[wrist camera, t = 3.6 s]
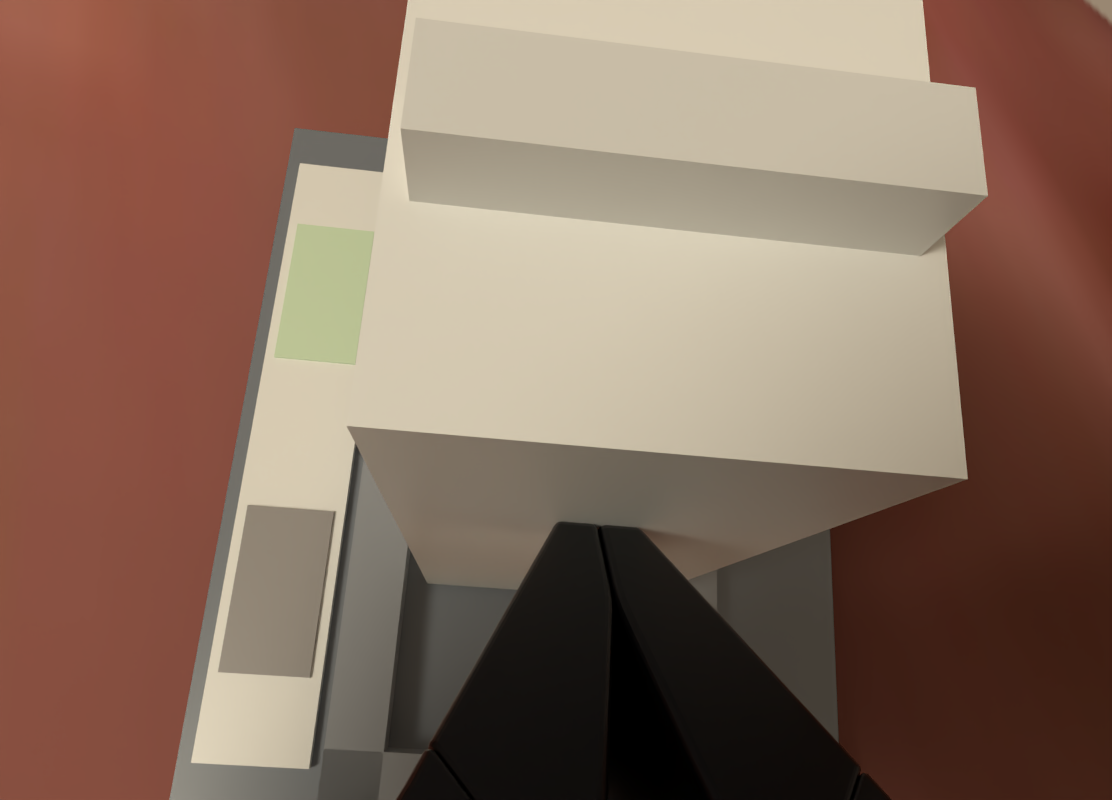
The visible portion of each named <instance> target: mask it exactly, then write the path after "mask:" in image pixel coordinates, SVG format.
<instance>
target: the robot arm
mask: <svg viewBox="0 0 1112 800" xmlns="http://www.w3.org/2000/svg"><path fill="white" fill-rule="evenodd" d="M860 771H861V768H860V766H859V764H858V763H857V762H856V761H855V760H854V759H853V758H852V757H851V756H850V755H849V754H848V753H847V751H846V750H845V749H844V748H843V747H842V746H841V745H840V744H839V743H838V742H837V741H836V740H835V739H834V737H833V736H832V735H831V734H830V733H829V732H828V731H827V730H826V729H825V728H824V727H823V726H822V724H821V723H820V722H819V721H818V720H817V719H816V718H815V717H814V716H813V715H812V714H811V713H810V711H809V710H808V709H807V708H806V707H805V706H804V705H803V704H802V703H801V702H800V701H799V700H798V698H797V697H796V696H795V695H794V694H793V693H792V692H791V691H790V690H789V689H788V688H787V687H786V686H785V684H784V683H783V682H782V681H781V680H780V679H779V678H778V677H777V676H776V675H775V674H774V673H773V671H772V670H771V669H770V668H769V667H768V666H767V665H766V664H765V663H764V662H763V661H762V660H761V658H760V657H759V656H758V655H757V654H756V653H755V652H754V651H753V650H752V649H751V648H750V647H749V646H748V644H747V643H746V642H745V641H744V640H743V639H742V638H741V637H740V636H739V635H738V634H737V633H736V631H735V630H734V629H733V628H732V627H731V626H730V625H729V624H728V623H727V622H726V621H725V620H724V618H723V617H722V616H721V615H720V614H719V613H718V612H717V611H716V610H715V609H714V608H713V607H712V606H711V604H710V603H709V602H708V601H707V600H706V599H705V598H704V597H703V596H702V595H701V594H700V593H699V591H698V590H697V589H696V588H695V587H694V586H693V585H692V584H691V583H690V582H689V581H688V580H687V578H686V577H685V576H684V575H683V574H682V573H681V572H680V571H679V570H678V569H677V568H676V567H675V566H674V564H673V563H672V562H671V561H670V560H669V559H668V558H667V557H666V556H665V555H664V554H663V553H662V551H661V550H660V549H659V548H658V547H657V546H656V545H655V544H654V543H653V542H652V541H651V540H650V538H649V537H648V536H647V535H646V534H645V533H644V532H643V531H642V530H641V529H639V528H637V527H626V526H614V525H603V526H600V527H599V529H597V527H596V526H595V525H593V524H588V523H576V522H563V521H561V522H557V523H556V524H555V525H554V527H553V528H552V530H551V532H550V533H549V535H548V537H547V539H546V540H545V542H544V544H543V546H542V547H541V549H540V551H539V553H538V554H537V556H536V558H535V560H534V561H533V563H532V565H531V567H530V568H529V570H528V572H527V573H526V575H525V577H524V579H523V580H522V582H521V584H520V586H519V587H518V589H517V591H516V593H515V594H514V596H513V598H512V600H511V601H510V603H509V605H508V607H507V608H506V610H505V612H504V613H503V615H502V617H501V619H500V620H499V622H498V624H497V626H496V627H495V629H494V631H493V633H492V634H491V636H490V638H489V640H488V641H487V643H486V645H485V647H484V648H483V650H482V652H481V653H480V655H479V657H478V659H477V660H476V662H475V664H474V666H473V667H472V669H471V671H470V673H469V674H468V676H467V678H466V680H465V681H464V683H463V685H462V687H461V688H460V690H459V692H458V693H457V695H456V697H455V699H454V700H453V702H452V704H451V706H450V707H449V709H448V711H447V713H446V714H445V716H444V718H443V720H442V721H441V723H440V725H439V727H438V728H437V730H436V732H435V733H434V735H433V737H432V739H431V740H430V742H429V745H428V749H427V750H425V751H424V752H423V753H422V755H421V757H420V759H419V760H418V762H417V764H416V765H415V767H414V769H413V771H412V772H411V774H410V776H409V778H408V779H407V781H406V783H405V785H404V786H403V788H402V789H401V791H400V793H399V794H398V796H397V797H396V799H395V800H891V799H890V797H889V796H888V795H887V794H886V793H885V792H884V791H883V790H882V789H881V788H880V787H879V786H878V785H877V783H876V782H875V781H874V780H873V779H872V778H871V777H870V776H869V775H868V774H865V773H863V774H861V775H860ZM859 775H860V776H859Z"/></svg>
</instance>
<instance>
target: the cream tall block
mask: <svg viewBox="0 0 1112 800" xmlns="http://www.w3.org/2000/svg"><path fill="white" fill-rule="evenodd" d="M987 196H988V193H987V184H986V176H985V167H984V158H983V150H982V141H981V132H980V123H979V115H978V106H977V97H976V89H975V88H973V87H965V86H957V85H949V84H941V83H933V82H930V75H929V64H928V54H927V43H926V33H925V22H924V12H923V1H922V0H408V4H407V11H406V18H405V25H404V32H403V39H402V46H401V53H400V60H399V67H398V73H397V80H396V87H395V94H394V101H393V108H392V115H391V122H390V129H389V136H388V142H387V149H386V156H385V163H384V170H383V177H382V184H381V191H380V198H379V205H378V211H377V218H376V225H375V232H374V239H373V246H372V253H371V260H370V267H369V274H368V280H367V287H366V294H365V301H364V308H363V315H362V322H361V329H360V336H359V343H358V349H357V356H356V363H355V370H354V377H353V384H352V391H351V398H350V405H349V412H348V418H347V425H346V426H347V428H348V430H349V432H350V434H351V436H352V438H353V440H354V442H355V444H356V445H357V447H358V449H359V451H360V453H361V455H362V457H363V459H364V461H365V463H366V465H367V467H368V469H369V471H370V473H371V475H372V477H373V479H374V480H375V482H376V484H377V486H378V488H379V490H380V492H381V494H382V496H383V498H384V500H385V502H386V504H387V506H388V508H389V510H390V512H391V514H392V515H393V517H394V519H395V521H396V523H397V525H398V527H399V529H400V531H401V533H402V535H403V537H404V539H405V541H406V543H407V545H408V547H409V549H410V550H411V552H412V554H413V556H414V558H415V560H416V562H417V564H418V566H419V568H420V570H421V572H422V574H423V576H424V578H425V580H426V582H427V583H428V584H442V585H456V586H470V587H484V588H498V589H512V590H517V589H518V587H519V586H520V584H521V582H522V580H523V579H524V577H525V575H526V573H527V572H528V570H529V568H530V567H531V565H532V563H533V561H534V560H535V558H536V556H537V554H538V553H539V551H540V549H541V547H542V546H543V544H544V542H545V540H546V539H547V537H548V535H549V533H550V532H551V530H552V528H553V527H554V525H555V524H556V523H557V522H561V521H563V522H576V523H588V524H593V525H595V526H596V527H597V529H599V527H600V526H603V525H614V526H626V527H637V528H639V529H641V530H642V531H643V532H644V533H645V534H646V535H647V536H648V537H649V538H650V540H651V541H652V542H653V543H654V544H655V545H656V546H657V547H658V548H659V549H660V550H661V551H662V553H663V554H664V555H665V556H666V557H667V558H668V559H669V560H670V561H671V562H672V563H673V564H674V566H675V567H676V568H677V569H678V570H679V571H680V572H681V573H682V574H683V575H684V576H685V577H686V578H687V580H689V579H692V578H695V577H697V576H700V575H703V574H706V573H709V572H711V571H714V570H717V569H720V568H722V567H725V566H728V565H731V564H734V563H736V562H739V561H742V560H745V559H747V558H750V557H753V556H756V555H759V554H761V553H764V552H767V551H770V550H772V549H775V548H778V547H781V546H784V545H786V544H789V543H792V542H795V541H797V540H800V539H803V538H806V537H808V536H811V535H814V534H817V533H820V532H822V531H825V530H828V529H831V528H833V527H836V526H839V525H842V524H845V523H847V522H850V521H853V520H856V519H858V518H861V517H864V516H867V515H870V514H872V513H875V512H878V511H881V510H883V509H886V508H889V507H892V506H895V505H897V504H900V503H903V502H906V501H908V500H911V499H914V498H917V497H920V496H922V495H925V494H928V493H931V492H933V491H936V490H939V489H942V488H945V487H947V486H950V485H953V484H956V483H958V482H961V481H964V480H967V479H968V476H967V466H966V455H965V444H964V434H963V423H962V413H961V402H960V392H959V381H958V371H957V360H956V349H955V339H954V328H953V318H952V307H951V297H950V286H949V275H948V265H947V254H946V244H945V233H947V232H948V231H949V230H950V229H951V228H952V227H953V226H954V225H956V224H957V223H958V222H959V221H960V220H961V219H962V218H963V217H965V216H966V215H967V214H968V213H969V212H970V211H971V210H972V209H974V208H975V207H976V206H977V205H978V204H979V203H980V202H981V201H983V200H984V199H985V198H986V197H987Z"/></svg>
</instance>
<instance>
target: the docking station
mask: <svg viewBox="0 0 1112 800" xmlns="http://www.w3.org/2000/svg"><path fill="white" fill-rule="evenodd" d="M387 142H388V139H386V138H377V137H368V136H360V135H351V134H342V133H333V132H324V131H316V130H307V129H298V128H295V130H294V135H293V141H292V146H291V151H290V157H289V162H288V167H287V173H286V178H285V184H284V189H283V194H282V200H281V205H280V210H279V216H278V221H277V226H276V232H275V237H274V242H273V248H272V253H271V259H270V264H269V269H268V275H267V280H266V285H265V291H264V296H263V301H262V307H261V312H260V318H259V323H258V328H257V334H256V339H255V344H254V350H253V355H252V360H251V366H250V371H249V376H248V382H247V387H246V393H245V398H244V403H243V409H242V414H241V419H240V425H239V430H238V435H237V441H236V446H235V452H234V457H233V462H232V468H231V473H230V478H229V484H228V489H227V494H226V500H225V505H224V510H223V516H222V521H221V527H220V532H219V537H218V543H217V548H216V553H215V559H214V564H213V569H212V575H211V580H210V586H209V591H208V596H207V602H206V607H205V612H204V618H203V623H202V628H201V634H200V639H199V644H198V650H197V655H196V661H195V666H194V671H193V677H192V682H191V687H190V693H189V698H188V703H187V709H186V714H185V720H184V725H183V730H182V736H181V741H180V746H179V752H178V757H177V762H176V768H175V773H174V778H173V784H172V789H171V795H170V800H395V799H396V797H397V796H398V794H399V793H400V791H401V789H402V788H403V786H404V785H405V783H406V781H407V779H408V778H409V776H410V774H411V772H412V771H413V769H414V767H415V765H416V764H417V762H418V760H419V759H420V757H421V755H422V753H423V752H424V751H425V750H427V749H428V745H429V742H430V740H431V739H432V737H433V735H434V733H435V732H436V730H437V728H438V727H439V725H440V723H441V721H442V720H443V718H444V716H445V714H446V713H447V711H448V709H449V707H450V706H451V704H452V702H453V700H454V699H455V697H456V695H457V693H458V692H459V690H460V688H461V687H462V685H463V683H464V681H465V680H466V678H467V676H468V674H469V673H470V671H471V669H472V667H473V666H474V664H475V662H476V660H477V659H478V657H479V655H480V653H481V652H482V650H483V648H484V647H485V645H486V643H487V641H488V640H489V638H490V636H491V634H492V633H493V631H494V629H495V627H496V626H497V624H498V622H499V620H500V619H501V617H502V615H503V613H504V612H505V610H506V608H507V607H508V605H509V603H510V601H511V600H512V598H513V596H514V594H515V593H516V591H517V590H512V589H498V588H484V587H470V586H456V585H442V584H428V583H427V582H426V580H425V578H424V576H423V574H422V572H421V570H420V568H419V566H418V564H417V562H416V560H415V558H414V556H413V554H412V552H411V550H410V549H409V547H408V545H407V543H406V541H405V539H404V537H403V535H402V533H401V531H400V529H399V527H398V525H397V523H396V521H395V519H394V517H393V515H392V514H391V512H390V510H389V508H388V506H387V504H386V502H385V500H384V498H383V496H382V494H381V492H380V490H379V488H378V486H377V484H376V482H375V480H374V479H373V477H372V475H371V473H370V471H369V469H368V467H367V465H366V463H365V461H364V459H363V457H362V455H361V453H360V451H359V449H358V447H357V445H356V444H355V442H354V440H353V438H352V436H351V434H350V432H349V430H348V428H347V426H346V425H347V418H348V412H349V405H350V398H351V391H352V384H353V377H354V370H355V363H356V356H357V349H358V343H359V336H360V329H361V322H362V315H363V308H364V301H365V294H366V287H367V280H368V274H369V267H370V260H371V253H372V246H373V239H374V232H375V225H376V218H377V211H378V205H379V198H380V191H381V184H382V177H383V170H384V163H385V156H386V149H387ZM688 581H689V582H690V583H691V584H692V585H693V586H694V587H695V588H696V589H697V590H698V591H699V593H700V594H701V595H702V596H703V597H704V598H705V599H706V600H707V601H708V602H709V603H710V604H711V606H712V607H713V608H714V609H715V610H716V611H717V612H718V613H719V614H720V615H721V616H722V617H723V618H724V620H725V621H726V622H727V623H728V624H729V625H730V626H731V627H732V628H733V629H734V630H735V631H736V633H737V634H738V635H739V636H740V637H741V638H742V639H743V640H744V641H745V642H746V643H747V644H748V646H749V647H750V648H751V649H752V650H753V651H754V652H755V653H756V654H757V655H758V656H759V657H760V658H761V660H762V661H763V662H764V663H765V664H766V665H767V666H768V667H769V668H770V669H771V670H772V671H773V673H774V674H775V675H776V676H777V677H778V678H779V679H780V680H781V681H782V682H783V683H784V684H785V686H786V687H787V688H788V689H789V690H790V691H791V692H792V693H793V694H794V695H795V696H796V697H797V698H798V700H799V701H800V702H801V703H802V704H803V705H804V706H805V707H806V708H807V709H808V710H809V711H810V713H811V714H812V715H813V716H814V717H815V718H816V719H817V720H818V721H819V722H820V723H821V724H822V726H823V727H824V728H825V729H826V730H827V731H828V732H829V733H830V734H831V735H832V736H833V737H834V739H835V740H836V741H837V742H838V743H839V736H838V712H837V688H836V664H835V640H834V616H833V591H832V567H831V543H830V529H828V530H825V531H822V532H820V533H817V534H814V535H811V536H808V537H806V538H803V539H800V540H797V541H795V542H792V543H789V544H786V545H784V546H781V547H778V548H775V549H772V550H770V551H767V552H764V553H761V554H759V555H756V556H753V557H750V558H747V559H745V560H742V561H739V562H736V563H734V564H731V565H728V566H725V567H722V568H720V569H717V570H714V571H711V572H709V573H706V574H703V575H700V576H697V577H695V578H692V579H689V580H688Z"/></svg>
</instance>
